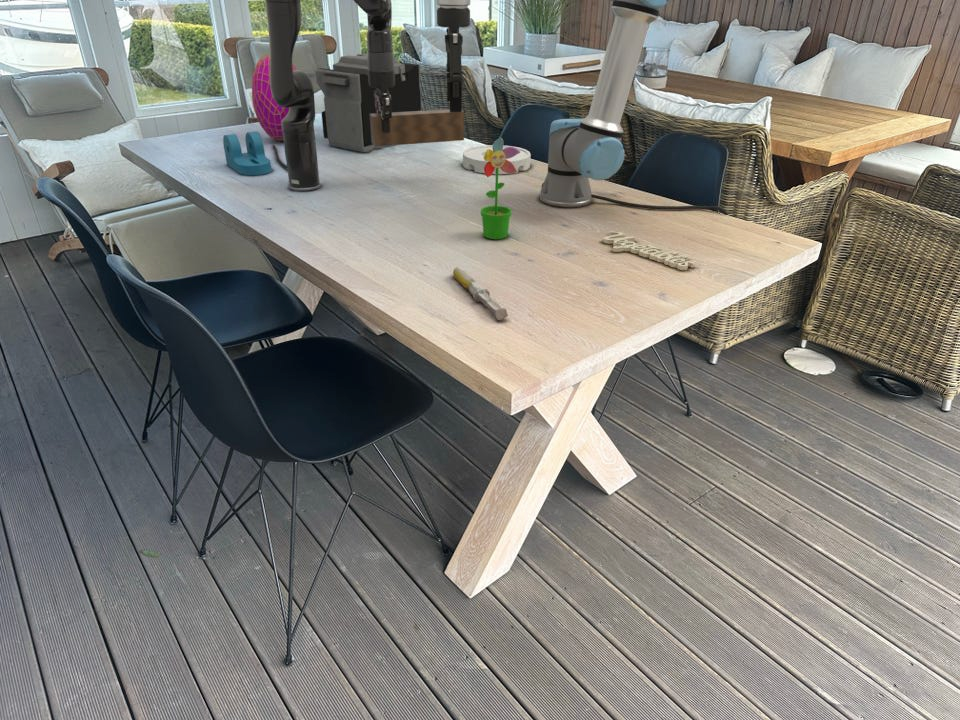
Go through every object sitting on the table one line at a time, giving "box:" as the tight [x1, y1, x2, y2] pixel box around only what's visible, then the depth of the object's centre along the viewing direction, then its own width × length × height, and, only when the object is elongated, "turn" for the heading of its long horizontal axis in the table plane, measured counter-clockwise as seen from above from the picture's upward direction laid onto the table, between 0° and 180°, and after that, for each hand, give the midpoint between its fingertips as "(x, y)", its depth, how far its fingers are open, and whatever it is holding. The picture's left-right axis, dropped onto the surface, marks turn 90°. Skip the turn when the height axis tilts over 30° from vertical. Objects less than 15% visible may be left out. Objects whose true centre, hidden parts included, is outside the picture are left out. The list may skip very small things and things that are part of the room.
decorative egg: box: [251, 54, 298, 142], centre depth 257 cm, size 19×19×30 cm
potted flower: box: [480, 137, 520, 240], centre depth 170 cm, size 9×8×25 cm
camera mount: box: [222, 131, 272, 176], centre depth 226 cm, size 18×10×10 cm, turn 35°
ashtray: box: [462, 144, 532, 175], centre depth 235 cm, size 23×23×4 cm
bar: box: [370, 108, 465, 147], centre depth 206 cm, size 28×5×8 cm, turn 109°
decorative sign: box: [603, 230, 695, 271], centre depth 167 cm, size 26×1×10 cm
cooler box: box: [315, 53, 423, 153], centre depth 257 cm, size 37×22×30 cm, turn 144°
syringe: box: [452, 266, 509, 321], centre depth 145 cm, size 25×4×3 cm, turn 21°
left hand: (384, 130), depth 203 cm, fingers closed on bar, 4 cm apart
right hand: (454, 106), depth 165 cm, fingers open, 13 cm apart
